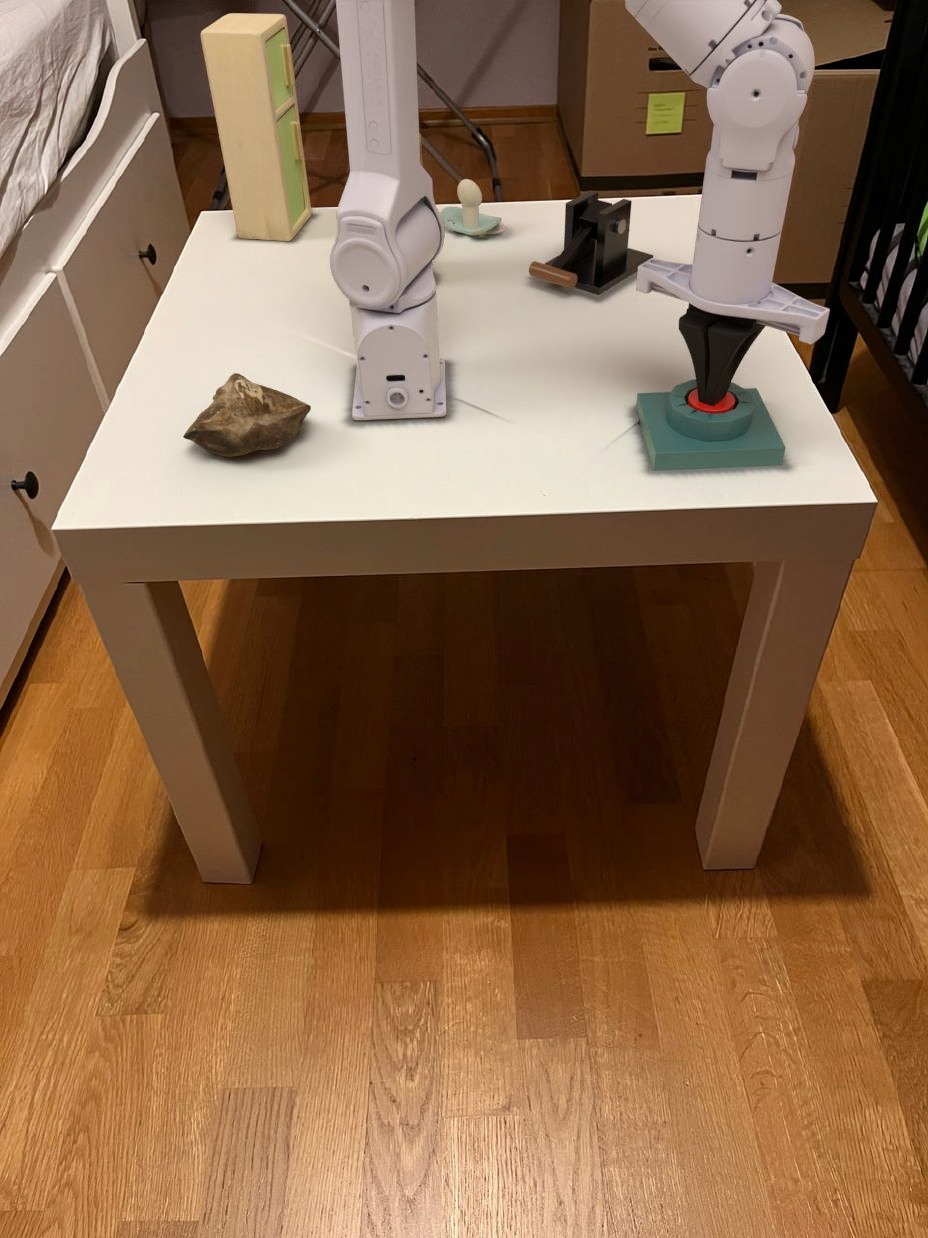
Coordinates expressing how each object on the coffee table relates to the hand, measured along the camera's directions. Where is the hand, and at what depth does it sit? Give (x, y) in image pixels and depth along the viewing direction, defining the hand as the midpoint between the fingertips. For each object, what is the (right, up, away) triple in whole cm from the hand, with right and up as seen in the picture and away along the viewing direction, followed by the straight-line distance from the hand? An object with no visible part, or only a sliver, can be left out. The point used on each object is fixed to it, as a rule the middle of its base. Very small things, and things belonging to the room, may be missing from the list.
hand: (712, 398), depth 77 cm
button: (0, -1, +1) cm, 2 cm away
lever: (-8, +20, +22) cm, 31 cm away
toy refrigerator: (-41, +28, +38) cm, 63 cm away
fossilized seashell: (-37, -3, +4) cm, 37 cm away
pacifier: (-18, +27, +35) cm, 47 cm away
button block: (0, -3, +2) cm, 3 cm away
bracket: (-6, +19, +26) cm, 33 cm away
